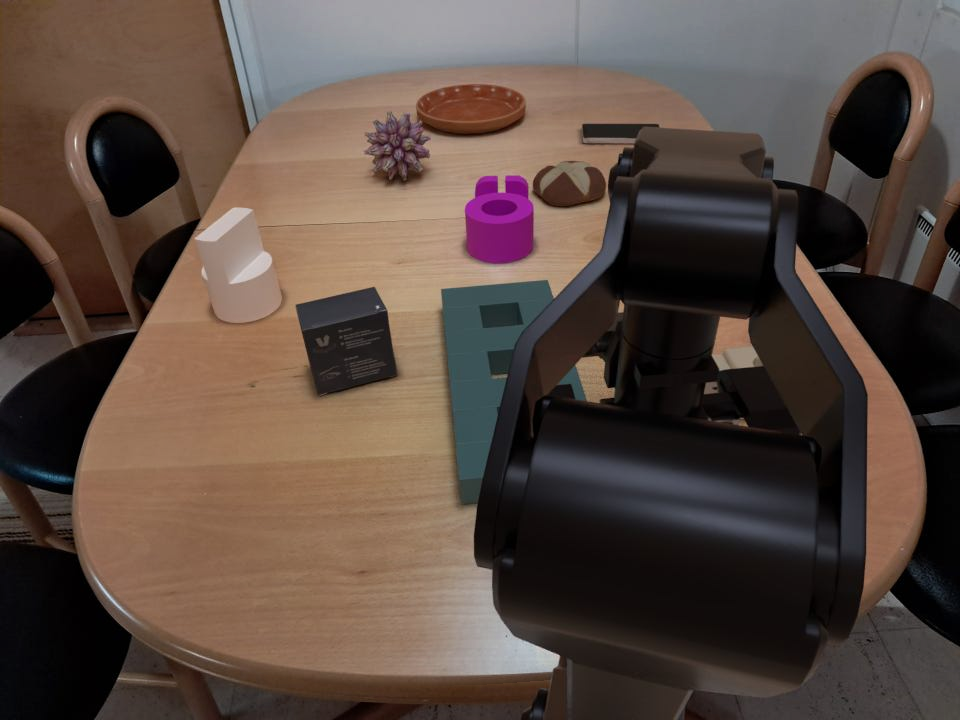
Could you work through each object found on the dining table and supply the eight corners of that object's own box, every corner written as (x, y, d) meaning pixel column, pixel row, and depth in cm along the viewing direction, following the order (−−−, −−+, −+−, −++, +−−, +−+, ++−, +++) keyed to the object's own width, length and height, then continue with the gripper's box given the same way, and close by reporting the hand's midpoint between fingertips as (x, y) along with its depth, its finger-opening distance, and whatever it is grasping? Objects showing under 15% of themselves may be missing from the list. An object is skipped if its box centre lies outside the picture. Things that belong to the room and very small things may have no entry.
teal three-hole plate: (605, 489, 66) (608, 464, 64) (461, 504, 65) (459, 479, 63) (547, 302, 91) (547, 279, 89) (442, 311, 91) (440, 288, 88)
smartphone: (663, 138, 131) (583, 138, 132) (662, 144, 132) (583, 144, 133) (658, 123, 137) (582, 123, 138) (657, 129, 138) (581, 129, 139)
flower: (441, 178, 127) (412, 192, 117) (383, 167, 130) (350, 180, 120) (444, 112, 121) (414, 121, 112) (384, 103, 125) (349, 111, 115)
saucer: (547, 113, 147) (547, 95, 144) (476, 147, 134) (475, 128, 131) (467, 94, 159) (466, 77, 157) (395, 123, 146) (392, 105, 144)
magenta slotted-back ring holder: (533, 262, 99) (533, 223, 95) (464, 263, 100) (462, 224, 96) (533, 211, 112) (533, 175, 108) (472, 212, 112) (470, 175, 108)
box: (386, 350, 84) (376, 284, 79) (398, 377, 80) (388, 309, 74) (310, 369, 82) (293, 302, 76) (318, 397, 78) (301, 329, 72)
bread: (614, 200, 114) (617, 171, 111) (551, 213, 111) (552, 184, 108) (583, 174, 122) (585, 147, 119) (524, 186, 119) (524, 158, 116)
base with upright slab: (260, 327, 89) (236, 245, 82) (200, 317, 92) (171, 237, 84) (294, 290, 96) (274, 211, 88) (238, 282, 98) (214, 204, 91)
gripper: (761, 253, 50) (722, 412, 60) (503, 275, 49) (507, 432, 59) (838, 348, 41) (777, 515, 51) (526, 376, 40) (526, 541, 50)
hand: (641, 495), depth 53 cm, fingers closed on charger, 4 cm apart
